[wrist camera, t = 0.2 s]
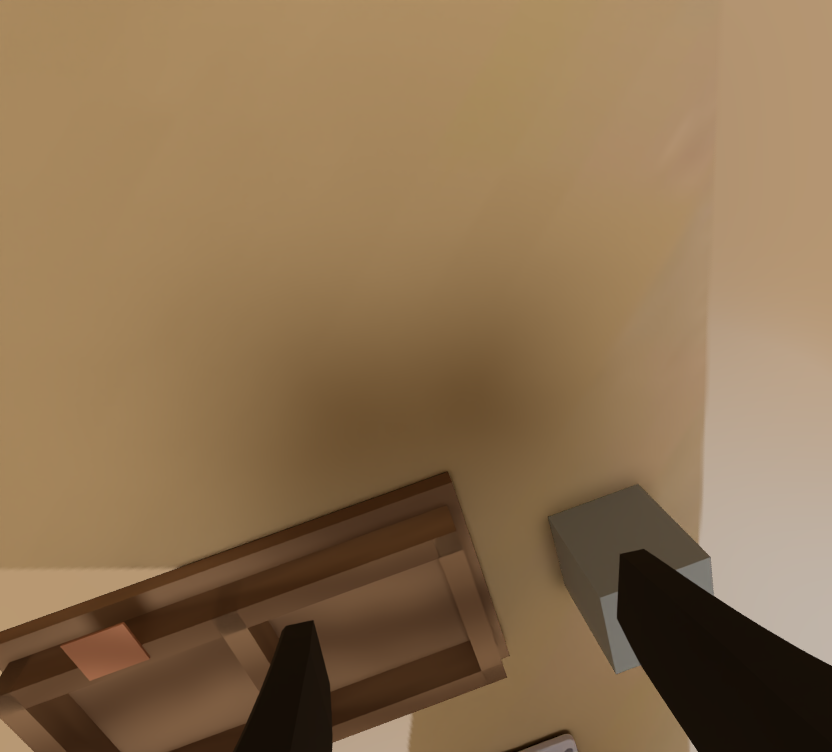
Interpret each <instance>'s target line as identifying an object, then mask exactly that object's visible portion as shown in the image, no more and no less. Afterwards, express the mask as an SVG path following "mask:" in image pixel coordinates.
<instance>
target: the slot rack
mask: <svg viewBox="0 0 832 752" xmlns="http://www.w3.org/2000/svg"><path fill="white" fill-rule="evenodd" d="M310 620H314V624H315V627H316V631H317V635H318V639H319V643H320V647H321V651H322V655H323V659H324V662H325V666H326V670H327V674H328V678H329V682H330V692H331V710H332V732H333V739H332V743H333V742H336V741H338V740H341V739H344V738H346V737H349V736H351V735H354V734H357V733H360V732H362V731H365V730H367V729H370V728H373V727H376V726H378V725H381V724H384V723H386V722H389V721H392V720H394V719H397V718H400V717H402V716H405V715H408V714H410V713H413V712H416V711H419V710H421V709H424V708H427V707H429V706H432V705H435V704H437V703H440V702H443V701H445V700H448V699H451V698H453V697H456V696H459V695H461V694H464V693H467V692H469V691H472V690H475V689H477V688H480V687H483V686H485V685H488V684H491V683H493V682H496V681H499V680H501V679H504V678H507V676H506V673H505V670H504V667H503V664H502V661H501V659H503V658H505V657H508V656H510V655H509V652H508V649H507V646H506V643H505V640H504V637H503V634H502V631H501V628H500V625H499V622H498V619H497V616H496V613H495V610H494V607H493V604H492V601H491V598H490V595H489V592H488V589H487V586H486V583H485V580H484V577H483V574H482V571H481V568H480V565H479V562H478V559H477V556H476V553H475V550H474V547H473V544H472V541H471V538H470V535H469V532H468V529H467V526H466V523H465V520H464V517H463V514H462V511H461V508H460V505H459V502H458V499H457V496H456V492H455V489H454V486H453V483H452V481H451V478H450V476H449V473H448V472H446V473H443V474H440V475H437V476H435V477H432V478H429V479H426V480H423V481H421V482H418V483H415V484H412V485H409V486H407V487H404V488H401V489H398V490H395V491H393V492H390V493H387V494H384V495H381V496H379V497H376V498H373V499H370V500H368V501H365V502H362V503H359V504H356V505H354V506H351V507H348V508H345V509H342V510H340V511H337V512H334V513H331V514H328V515H326V516H323V517H320V518H317V519H314V520H312V521H309V522H306V523H303V524H300V525H298V526H295V527H292V528H289V529H286V530H284V531H281V532H278V533H275V534H272V535H270V536H267V537H264V538H261V539H258V540H256V541H253V542H250V543H247V544H245V545H242V546H239V547H236V548H233V549H231V550H228V551H225V552H222V553H219V554H217V555H214V556H211V557H208V558H205V559H203V560H200V561H197V562H194V563H191V564H189V565H186V566H183V567H180V568H177V569H175V570H172V571H169V572H166V573H163V574H161V575H158V576H155V577H152V578H149V579H147V580H144V581H141V582H138V583H136V584H133V585H130V586H127V587H124V588H122V589H119V590H116V591H113V592H110V593H108V594H105V595H102V596H99V597H96V598H94V599H91V600H88V601H85V602H82V603H80V604H77V605H74V606H71V607H68V608H66V609H63V610H60V611H58V612H54V613H52V614H49V615H46V616H43V617H41V618H38V619H35V620H32V621H30V622H26V623H24V624H21V625H18V626H16V627H13V628H10V629H7V630H4V631H1V632H0V670H1V671H2V672H3V673H2V674H1V676H0V719H2V720H3V721H4V722H5V723H6V724H7V725H8V726H9V727H10V728H11V729H12V730H13V731H14V732H15V733H16V734H17V735H18V736H19V737H20V738H21V739H22V740H23V741H24V742H25V743H26V744H27V745H28V746H29V747H30V748H31V749H32V750H33V751H34V752H233V750H234V748H235V746H236V744H237V742H238V740H239V738H240V736H241V734H242V732H243V729H244V727H245V725H246V723H247V720H248V718H249V716H250V713H251V711H252V709H253V706H254V704H255V702H256V699H257V697H258V695H259V692H260V690H261V687H262V685H263V682H264V680H265V677H266V675H267V672H268V669H269V667H270V664H271V661H272V659H273V656H274V653H275V650H276V647H277V644H278V641H279V638H280V635H281V632H282V630H283V629H284V627H285V626H287V625H292V624H296V623H301V622H306V621H310Z"/></svg>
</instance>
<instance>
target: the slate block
mask: <svg viewBox="0 0 832 752" xmlns="http://www.w3.org/2000/svg"><path fill="white" fill-rule="evenodd" d="M548 519H549V523H550V527H551V531H552V535H553V539H554V543H555V547H556V551H557V555H558V559H559V563H560V568H561V572H562V576H563V580H564V584H565V586H566V588H567V590H568V592H569V593H570V595H571V597H572V599H573V600H574V602H575V604H576V606H577V607H578V609H579V611H580V613H581V614H582V616H583V618H584V619H585V621H586V623H587V625H588V626H589V628H590V630H591V632H592V633H593V635H594V637H595V639H596V640H597V642H598V644H599V646H600V647H601V649H602V651H603V653H604V654H605V656H606V658H607V659H608V661H609V663H610V665H611V666H612V668H613V670H614V672H615V673H616V674H618V673H621V672H624V671H626V670H629V669H632V668H634V667H637V666H640V665H641V664H640V663H639V661H638V659H637V657H636V655H635V654H634V652H633V650H632V648H631V646H630V644H629V642H628V640H627V638H626V636H625V634H624V632H623V630H622V628H621V626H620V624H619V622H618V620H617V600H618V579H619V558H620V554H622V553H626V552H631V551H636V550H640V549H645V550H647V551H648V552H650V553H651V554H653V555H654V556H656V557H657V558H659V559H660V560H662V561H663V562H664V563H666V564H667V565H669V566H670V567H672V568H673V569H675V570H676V571H678V572H679V573H680V574H682V575H683V576H685V577H686V578H688V579H689V580H691V581H692V582H694V583H695V584H697V585H698V586H700V587H701V588H703V589H704V590H706V591H707V592H709V593H710V594H712V595H713V596H714V592H713V580H712V568H711V557H710V556H709V555H708V554H707V553H706V552H705V551H704V550H703V549H702V548H701V547H700V546H699V545H698V544H697V543H696V542H695V541H694V540H693V539H692V538H691V537H690V536H689V535H688V534H687V533H686V532H685V531H684V530H683V529H682V528H681V527H680V526H679V525H678V524H677V523H676V522H675V521H674V520H673V519H672V518H671V517H670V516H669V515H668V514H667V513H666V512H665V511H664V510H663V509H662V508H661V507H660V506H659V505H658V504H657V503H656V502H655V501H654V500H653V499H652V498H651V497H650V496H649V495H648V494H647V493H646V492H645V491H644V490H643V489H642V488H641V487H640V486H639V485H638V484H637V485H634V486H631V487H629V488H626V489H623V490H620V491H618V492H615V493H612V494H609V495H607V496H604V497H601V498H598V499H596V500H593V501H590V502H587V503H585V504H582V505H579V506H576V507H574V508H571V509H568V510H565V511H563V512H560V513H557V514H554V515H552V516H549V517H548Z"/></svg>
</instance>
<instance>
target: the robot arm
mask: <svg viewBox="0 0 832 752" xmlns="http://www.w3.org/2000/svg"><path fill="white" fill-rule="evenodd" d="M617 620H618V622H619V624H620V626H621V628H622V630H623V632H624V634H625V636H626V638H627V640H628V642H629V644H630V646H631V648H632V650H633V652H634V654H635V655H636V657H637V659H638V661H639V663H640V664H641V666H642V668H643V669H644V671H645V672H646V674H647V675H648V677H649V678H650V680H651V681H652V683H653V685H654V686H655V688H656V689H657V691H658V692H659V694H660V695H661V697H662V698H663V700H664V701H665V703H666V704H667V706H668V707H669V709H670V710H671V712H672V713H673V715H674V716H675V718H676V719H677V721H678V722H679V724H680V725H681V727H682V728H683V730H684V731H685V733H686V734H687V736H688V737H689V739H690V740H691V742H692V743H693V745H694V746H695V748H696V749H697V751H698V752H832V666H831V665H829V664H827V663H825V662H823V661H821V660H819V659H818V658H816V657H813V656H812V655H810V654H808V653H806V652H805V651H803V650H801V649H799V648H797V647H796V646H794V645H792V644H790V643H789V642H787V641H785V640H784V639H782V638H780V637H779V636H777V635H775V634H773V633H772V632H770V631H768V630H767V629H765V628H763V627H761V626H760V625H758V624H757V623H755V622H753V621H752V620H750V619H749V618H747V617H746V616H744V615H742V614H741V613H739V612H737V611H736V610H734V609H733V608H731V607H730V606H728V605H727V604H725V603H724V602H722V601H721V600H719V599H718V598H716V597H715V596H713V595H712V594H710V593H709V592H707V591H706V590H704V589H703V588H701V587H700V586H698V585H697V584H695V583H694V582H692V581H691V580H689V579H688V578H686V577H685V576H683V575H682V574H680V573H679V572H678V571H676V570H675V569H673V568H672V567H670V566H669V565H667V564H666V563H664V562H663V561H662V560H660V559H659V558H657V557H656V556H654V555H653V554H651V553H650V552H648V551H647V550H645V549H640V550H636V551H631V552H626V553H622V554H620V558H619V579H618V600H617ZM332 739H333V732H332V710H331V692H330V682H329V678H328V674H327V670H326V666H325V662H324V659H323V655H322V651H321V647H320V643H319V639H318V635H317V631H316V627H315V624H314V620H310V621H306V622H301V623H296V624H292V625H287V626H285V627H284V629H283V630H282V632H281V635H280V638H279V641H278V644H277V647H276V650H275V653H274V656H273V659H272V661H271V664H270V667H269V669H268V672H267V675H266V677H265V680H264V682H263V685H262V687H261V690H260V692H259V695H258V697H257V699H256V702H255V704H254V706H253V709H252V711H251V713H250V716H249V718H248V720H247V723H246V725H245V727H244V729H243V732H242V734H241V736H240V738H239V740H238V742H237V744H236V746H235V748H234V750H233V752H332ZM518 752H578V750H577V747H576V743H575V741H574V738H573V736H572V735H570V734H563V735H560V736H558V737H555V738H553V739H550V740H547V741H545V742H542V743H539V744H537V745H534V746H531V747H529V748H526V749H524V750H521V751H518Z"/></svg>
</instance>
